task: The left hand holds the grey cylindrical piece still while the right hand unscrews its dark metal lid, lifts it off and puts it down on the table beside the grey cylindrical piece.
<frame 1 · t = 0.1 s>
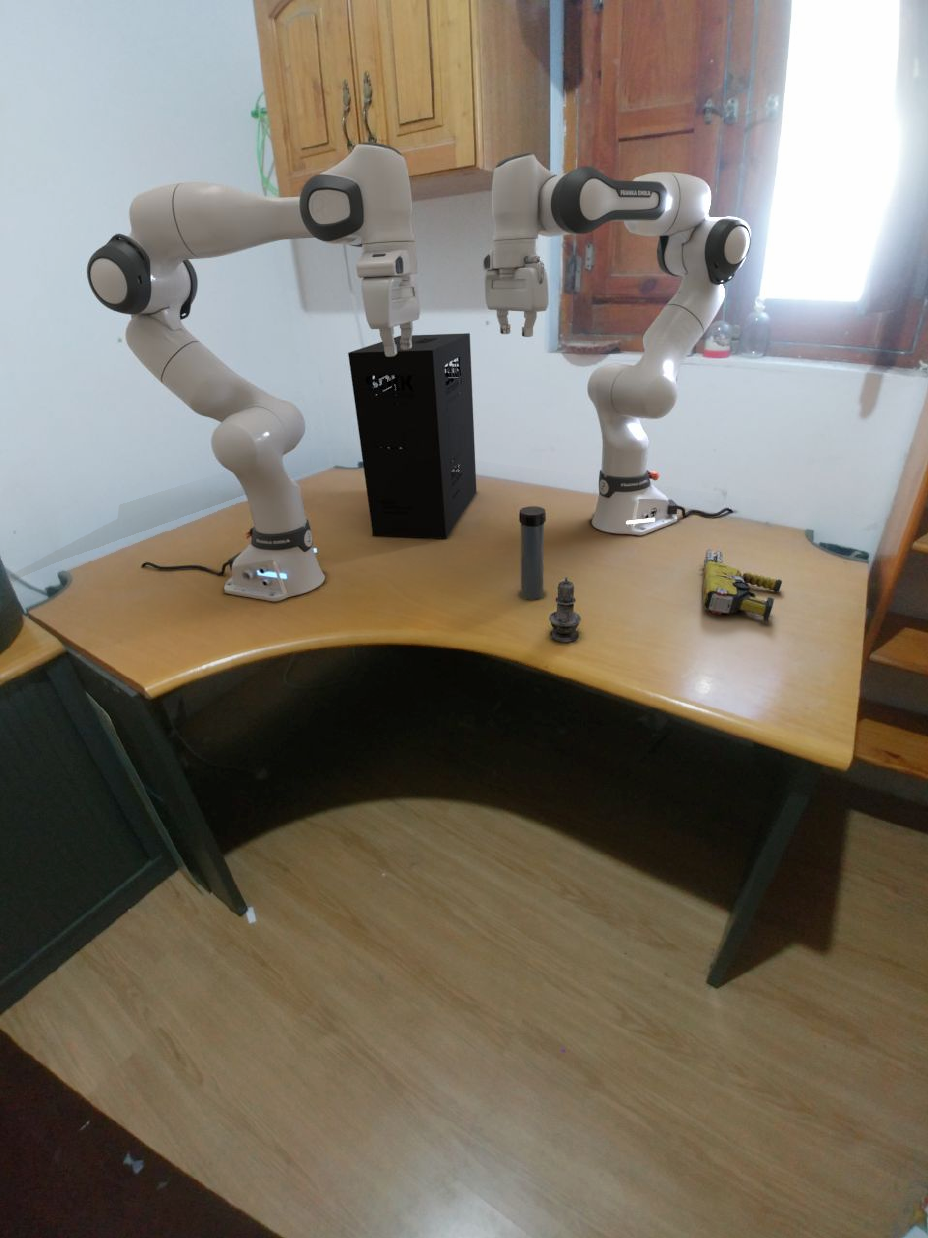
left hand: (399, 352, 109), 48 cm above the table, tool pointing down, fingers open, 8 cm apart
right hand: (516, 335, 125), 48 cm above the table, tool pointing down, fingers open, 8 cm apart
toy gun: (741, 593, 123), on the table
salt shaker: (564, 635, 113), on the table
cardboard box: (428, 512, 175), on the table
lid: (532, 512, 119), point 18 cm above the table, screwed on, not yet turned
grey cylindrical piece: (532, 594, 128), on the table
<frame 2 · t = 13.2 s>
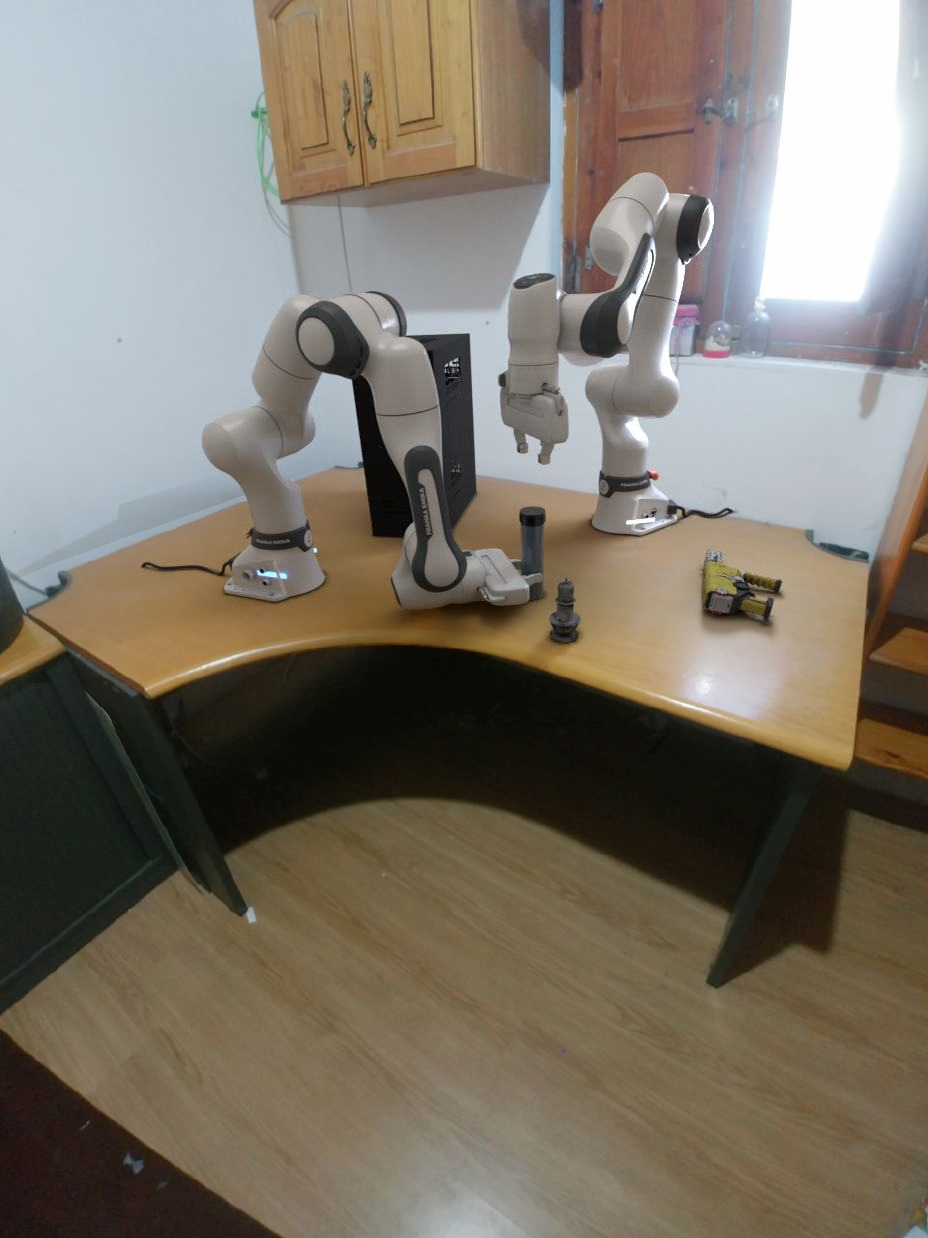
left hand: (536, 570, 125), 6 cm above the table, tool horizontal, fingers closed on grey cylindrical piece, 5 cm apart
right hand: (532, 458, 113), 29 cm above the table, tool pointing down, fingers open, 7 cm apart
grey cylindrical piece: (532, 594, 128), on the table, touching left hand
everything else where it was.
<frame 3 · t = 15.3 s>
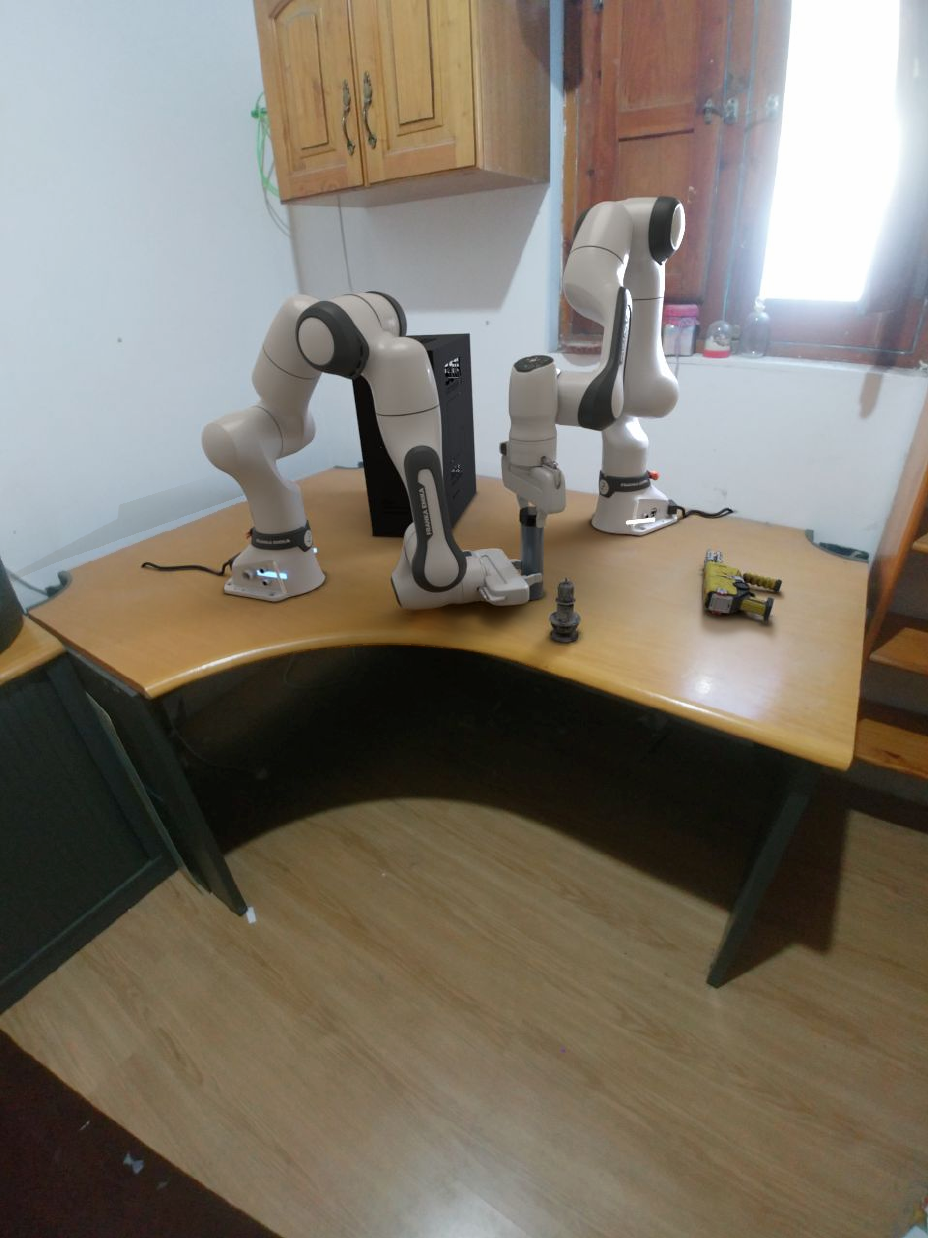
left hand: (536, 570, 125), 6 cm above the table, tool horizontal, fingers closed on grey cylindrical piece, 5 cm apart
right hand: (532, 521, 120), 16 cm above the table, tool pointing down, fingers closed on lid, 5 cm apart
lid: (532, 512, 119), point 18 cm above the table, screwed on, not yet turned, touching right hand
grey cylindrical piece: (532, 594, 128), on the table, touching left hand
everything else where it was.
when the right hand's fingers open (17 cm above the table, at t = 16.4 s): lid stays where it is, point 19 cm above the table.
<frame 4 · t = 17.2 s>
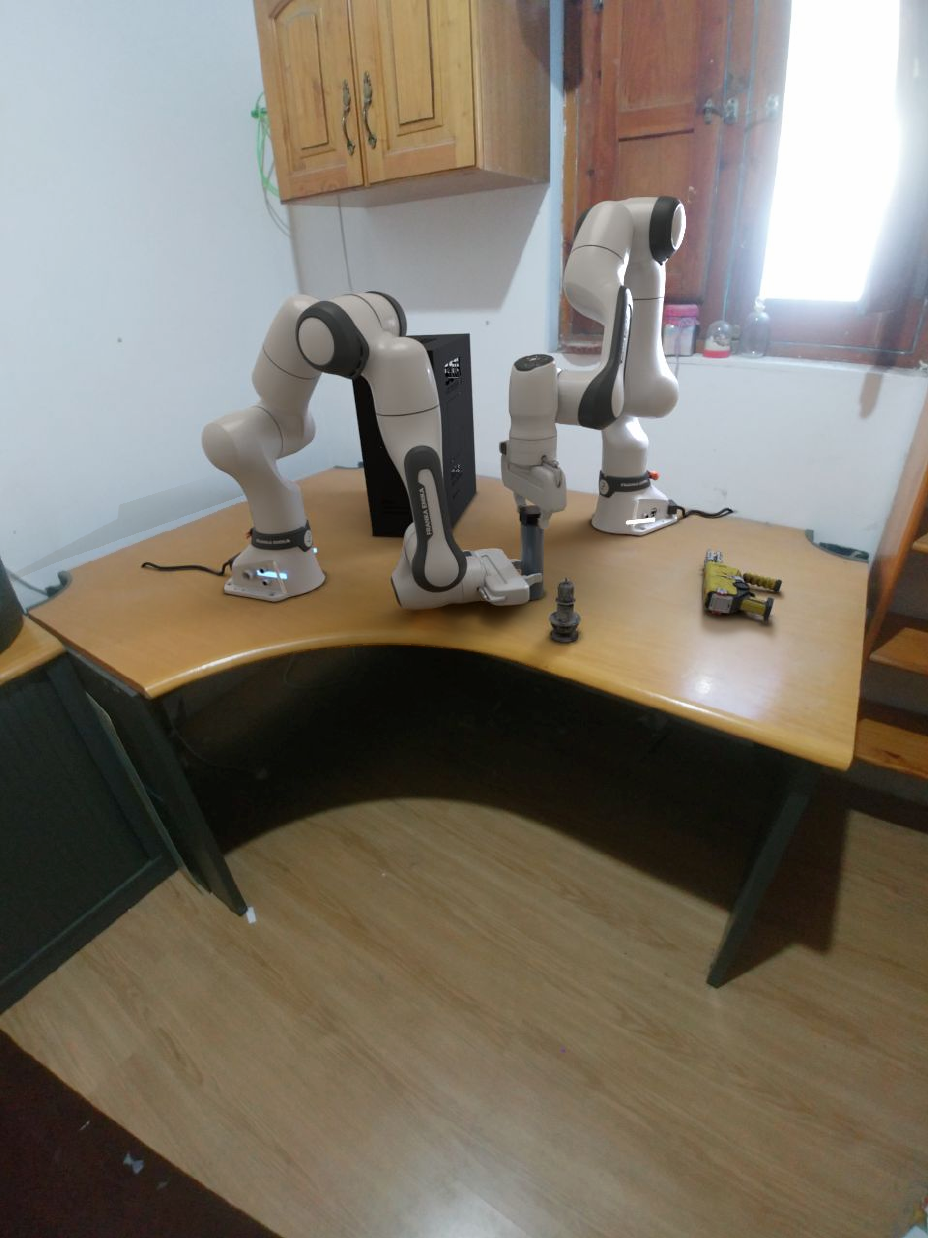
left hand: (536, 570, 125), 6 cm above the table, tool horizontal, fingers closed on grey cylindrical piece, 5 cm apart
right hand: (532, 520, 119), 17 cm above the table, tool pointing down, fingers open, 7 cm apart
lid: (532, 511, 118), point 19 cm above the table, turned 63° so far, risen 0.2 cm, still on its thread
grey cylindrical piece: (532, 594, 128), on the table, touching left hand
everything else where it was.
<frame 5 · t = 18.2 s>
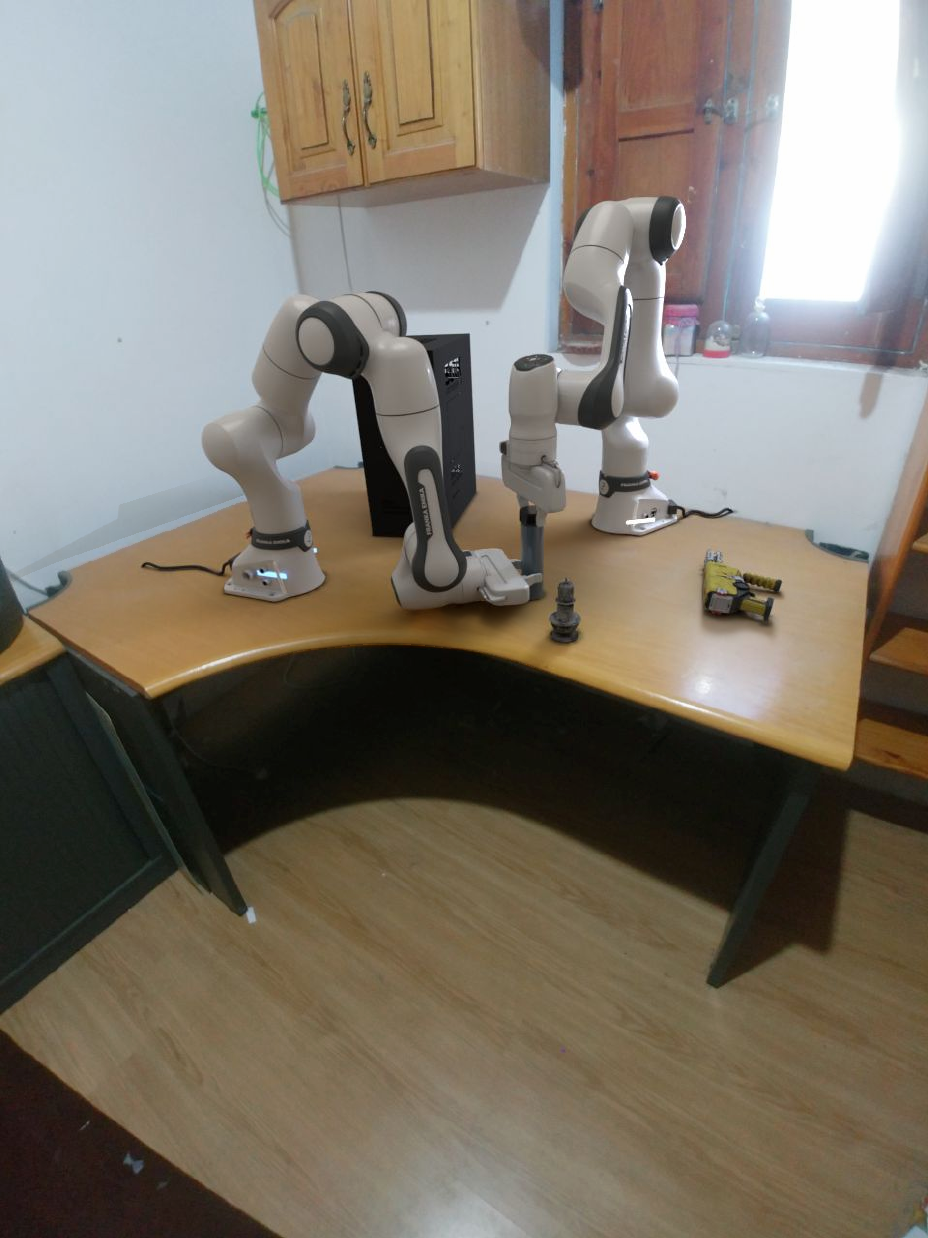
left hand: (536, 570, 125), 6 cm above the table, tool horizontal, fingers closed on grey cylindrical piece, 5 cm apart
right hand: (532, 520, 119), 17 cm above the table, tool pointing down, fingers closed on lid, 5 cm apart
lid: (532, 511, 118), point 19 cm above the table, turned 63° so far, risen 0.2 cm, still on its thread, touching right hand
grey cylindrical piece: (532, 594, 128), on the table, touching left hand
everything else where it was.
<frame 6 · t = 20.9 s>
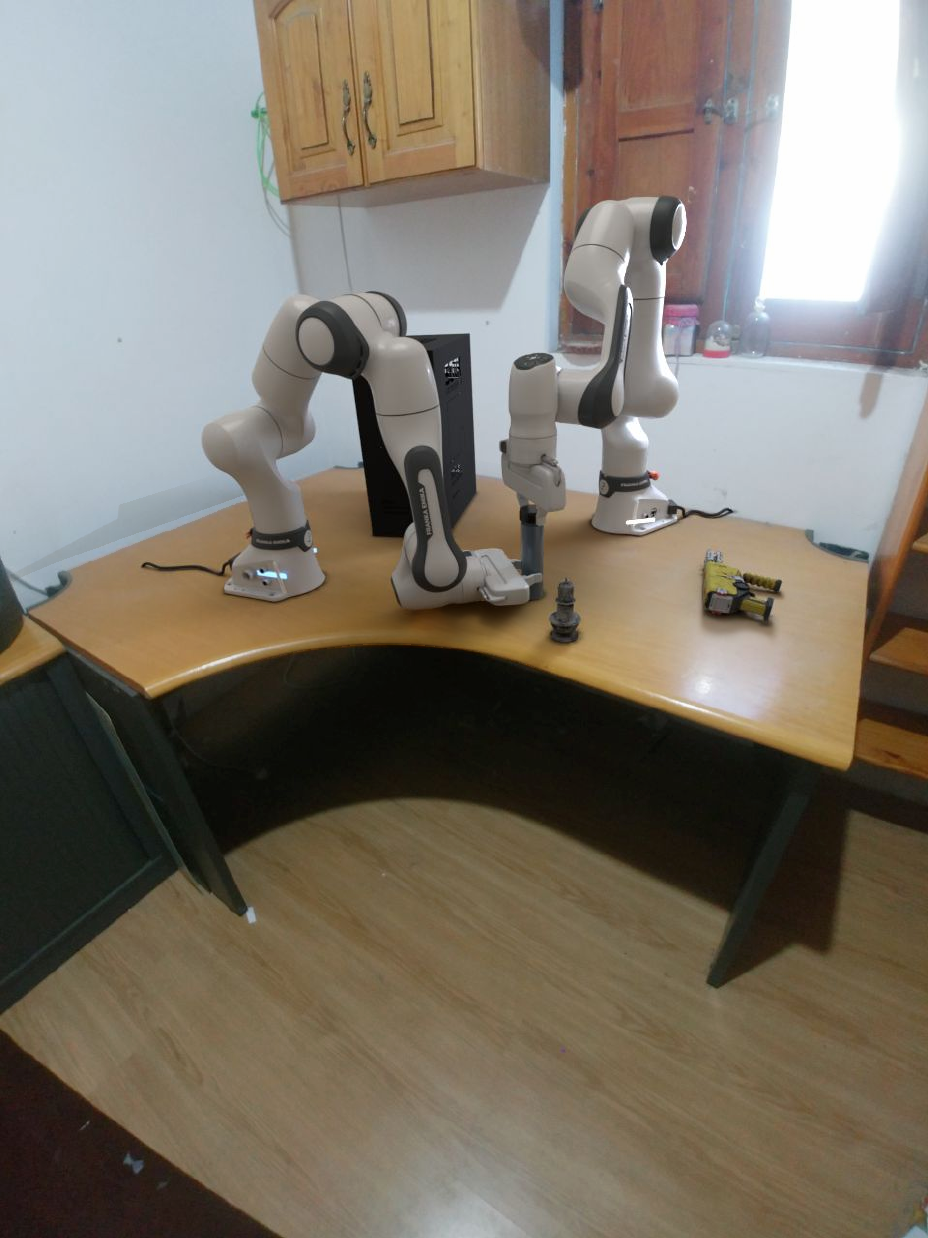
left hand: (536, 570, 125), 6 cm above the table, tool horizontal, fingers closed on grey cylindrical piece, 5 cm apart
right hand: (532, 519, 119), 17 cm above the table, tool pointing down, fingers closed on lid, 5 cm apart
lid: (532, 510, 118), point 19 cm above the table, turned 126° so far, risen 0.4 cm, still on its thread, touching right hand
grey cylindrical piece: (532, 594, 128), on the table, touching left hand
everything else where it was.
when the right hand's fingers open (2 cm above the table, at t = 28.0 s): lid drops 2 cm, point 2 cm above the table.
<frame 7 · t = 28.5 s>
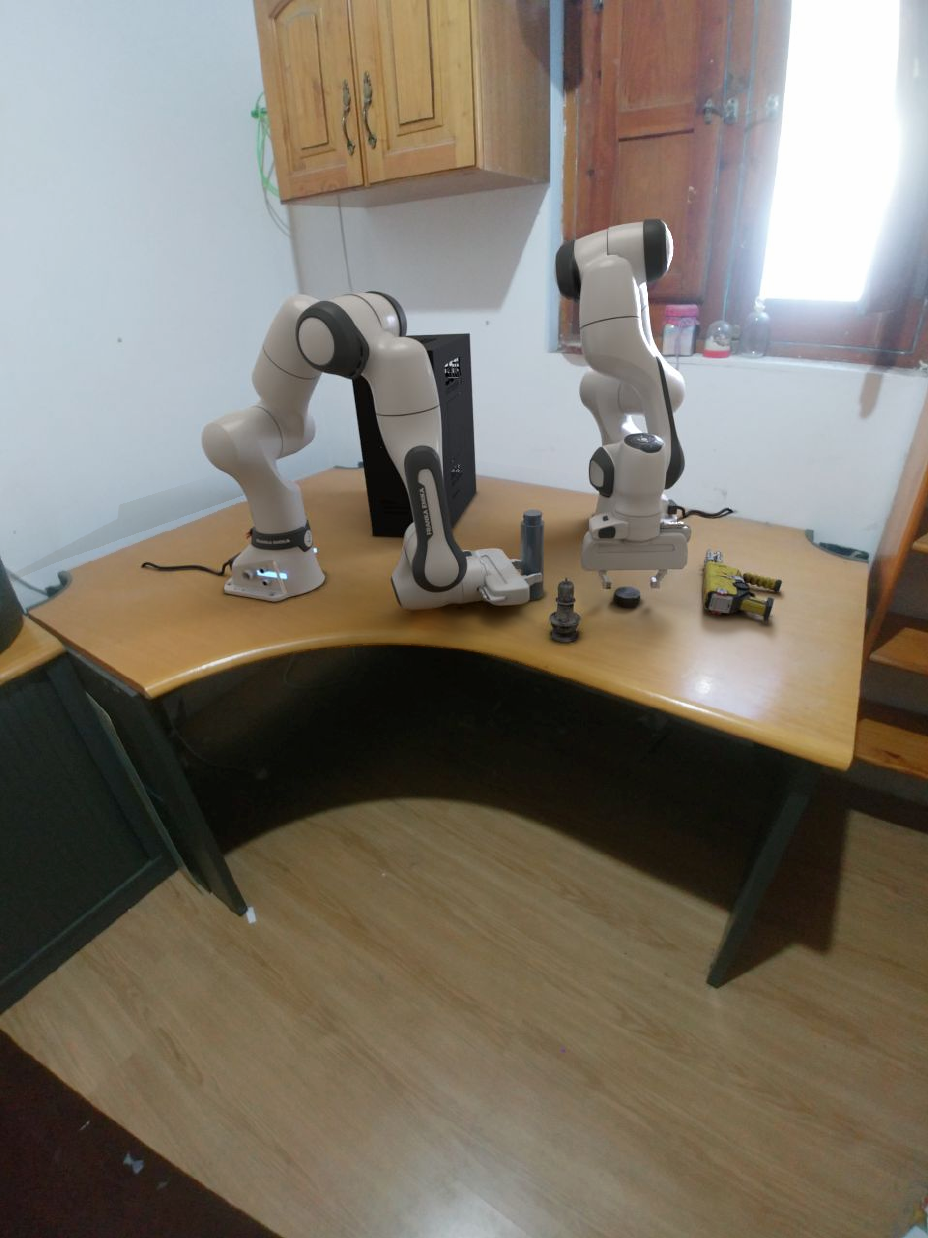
left hand: (536, 570, 125), 6 cm above the table, tool horizontal, fingers closed on grey cylindrical piece, 5 cm apart
right hand: (630, 587, 121), 3 cm above the table, tool pointing down, fingers open, 8 cm apart
lid: (627, 593, 122), point 2 cm above the table, off its thread
grey cylindrical piece: (532, 594, 128), on the table, touching left hand
everything else where it was.
when the left hand's fingers open (6 cm above the table, at t = 29.0 s): grey cylindrical piece stays where it is, on the table.
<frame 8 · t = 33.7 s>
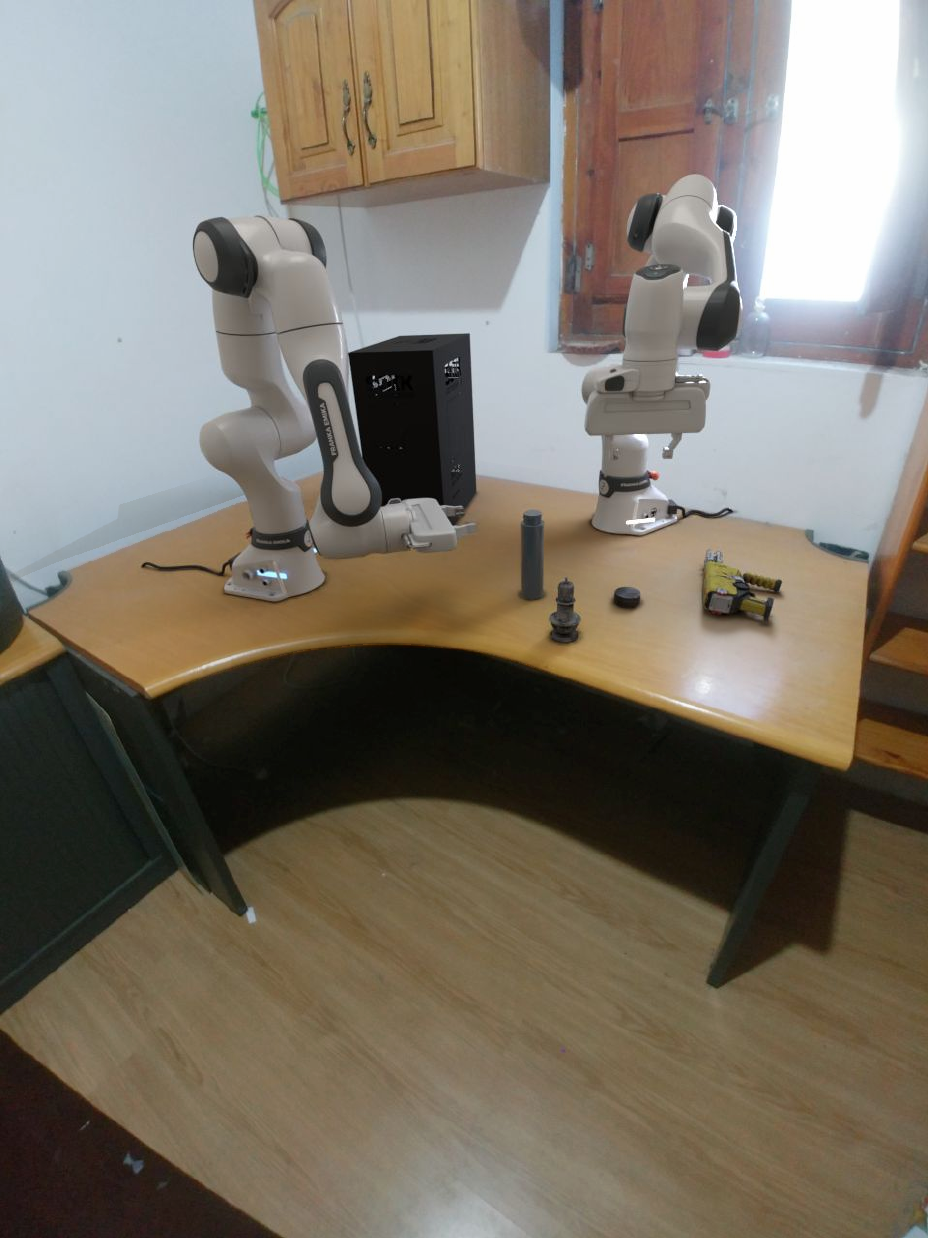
left hand: (469, 518, 116), 19 cm above the table, tool horizontal, fingers open, 8 cm apart
right hand: (640, 458, 108), 29 cm above the table, tool pointing down, fingers open, 8 cm apart
grey cylindrical piece: (532, 594, 128), on the table
everything else where it was.
at the end: lid came off its thread; lid point 1.9 cm above the table; the left hand is holding nothing; the right hand is holding nothing; grey cylindrical piece tilted 0°; grey cylindrical piece moved 0.0 cm from its start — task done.
